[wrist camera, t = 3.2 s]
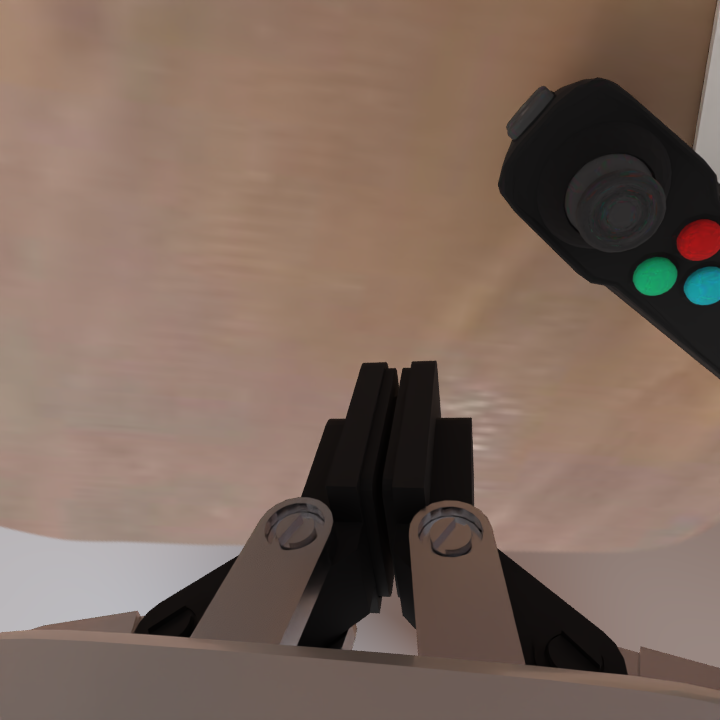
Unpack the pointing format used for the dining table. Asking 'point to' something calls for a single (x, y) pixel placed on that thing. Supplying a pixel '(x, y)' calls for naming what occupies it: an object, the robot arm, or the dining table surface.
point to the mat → (710, 104)
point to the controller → (622, 205)
